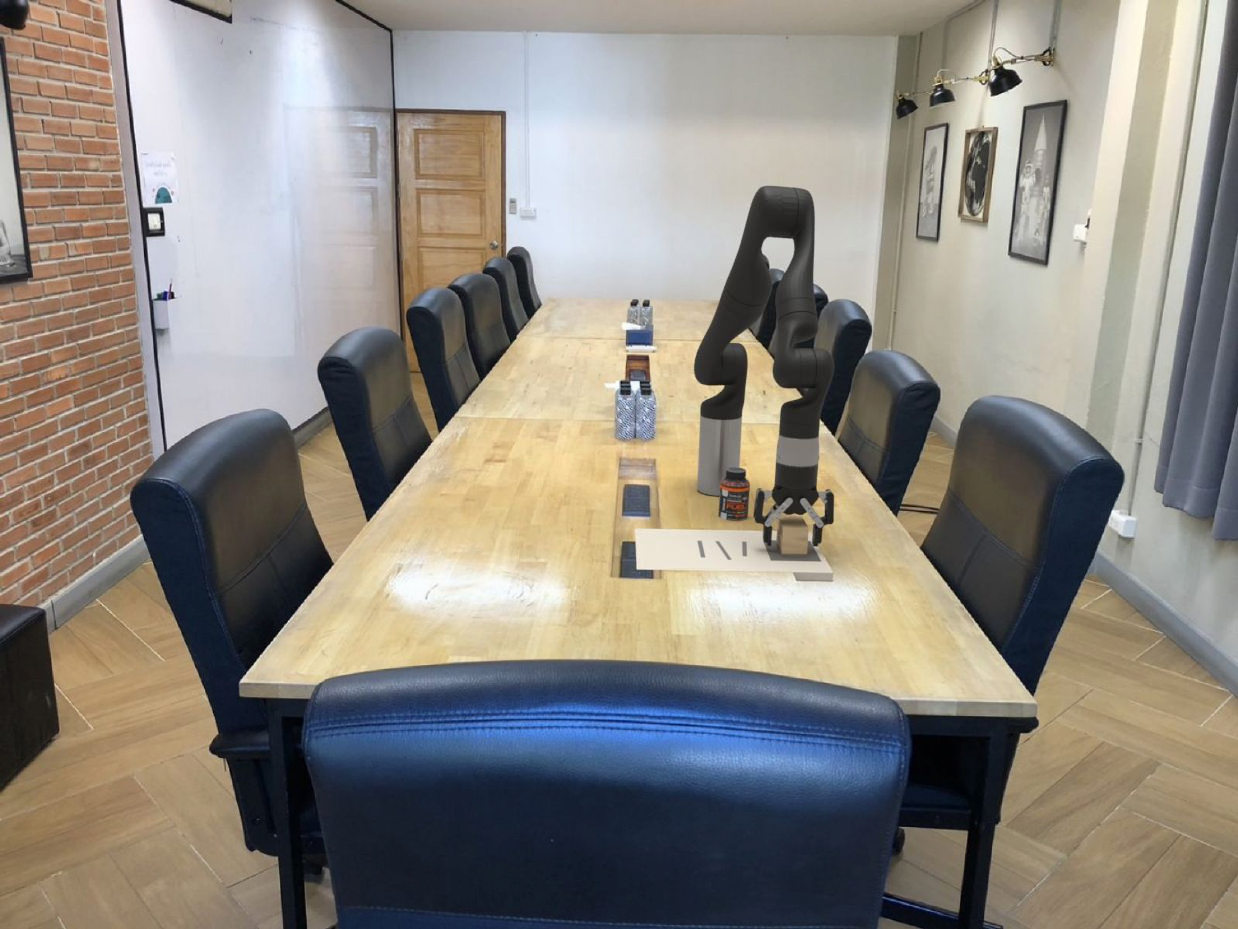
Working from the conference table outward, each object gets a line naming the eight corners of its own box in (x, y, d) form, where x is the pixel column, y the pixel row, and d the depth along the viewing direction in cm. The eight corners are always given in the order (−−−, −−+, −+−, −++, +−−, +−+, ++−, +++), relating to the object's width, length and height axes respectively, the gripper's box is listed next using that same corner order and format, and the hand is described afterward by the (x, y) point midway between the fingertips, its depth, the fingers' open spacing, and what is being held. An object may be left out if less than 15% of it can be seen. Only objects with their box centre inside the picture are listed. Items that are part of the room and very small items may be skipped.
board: (634, 535, 198) (635, 528, 197) (809, 539, 198) (810, 531, 197) (636, 577, 176) (636, 569, 176) (832, 581, 177) (833, 572, 176)
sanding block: (776, 543, 190) (777, 515, 189) (800, 544, 190) (802, 516, 189) (781, 556, 183) (783, 527, 182) (806, 557, 183) (808, 528, 182)
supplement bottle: (724, 528, 203) (727, 474, 200) (713, 519, 208) (716, 466, 205) (752, 526, 204) (755, 472, 202) (741, 517, 210) (743, 464, 207)
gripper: (832, 454, 186) (826, 539, 190) (754, 453, 186) (750, 537, 190) (841, 465, 179) (834, 552, 183) (760, 464, 179) (755, 551, 183)
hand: (791, 544), depth 186 cm, fingers open, 8 cm apart
